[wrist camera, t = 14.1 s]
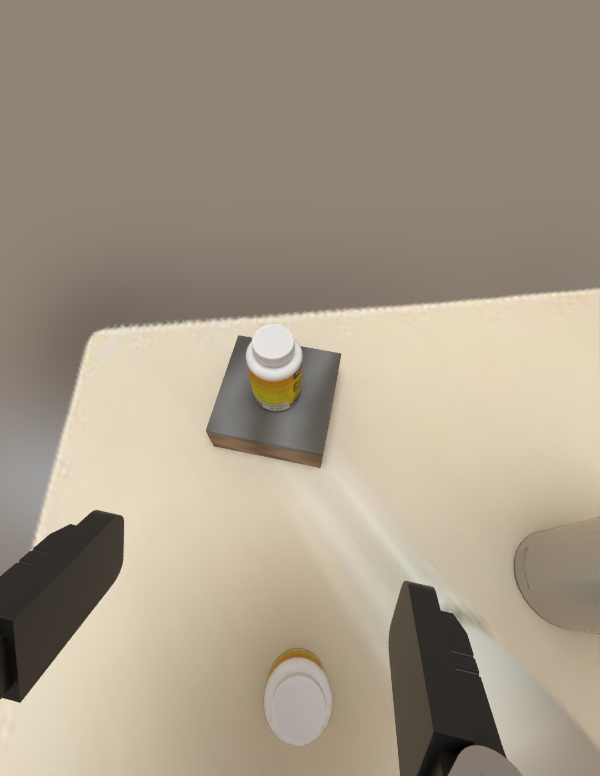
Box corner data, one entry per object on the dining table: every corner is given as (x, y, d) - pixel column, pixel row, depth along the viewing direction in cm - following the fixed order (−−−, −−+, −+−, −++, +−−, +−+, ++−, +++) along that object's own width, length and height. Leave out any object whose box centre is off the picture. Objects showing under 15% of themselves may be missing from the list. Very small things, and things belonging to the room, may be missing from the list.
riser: (337, 374, 52) (341, 353, 47) (320, 467, 46) (323, 454, 41) (243, 356, 53) (238, 335, 48) (214, 446, 47) (205, 430, 42)
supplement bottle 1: (300, 414, 43) (301, 367, 34) (250, 412, 43) (239, 365, 34) (302, 371, 46) (304, 317, 37) (255, 369, 46) (245, 314, 37)
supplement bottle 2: (259, 666, 36) (248, 689, 28) (309, 635, 38) (314, 648, 29) (283, 732, 34) (280, 779, 26) (336, 697, 35) (350, 731, 27)
